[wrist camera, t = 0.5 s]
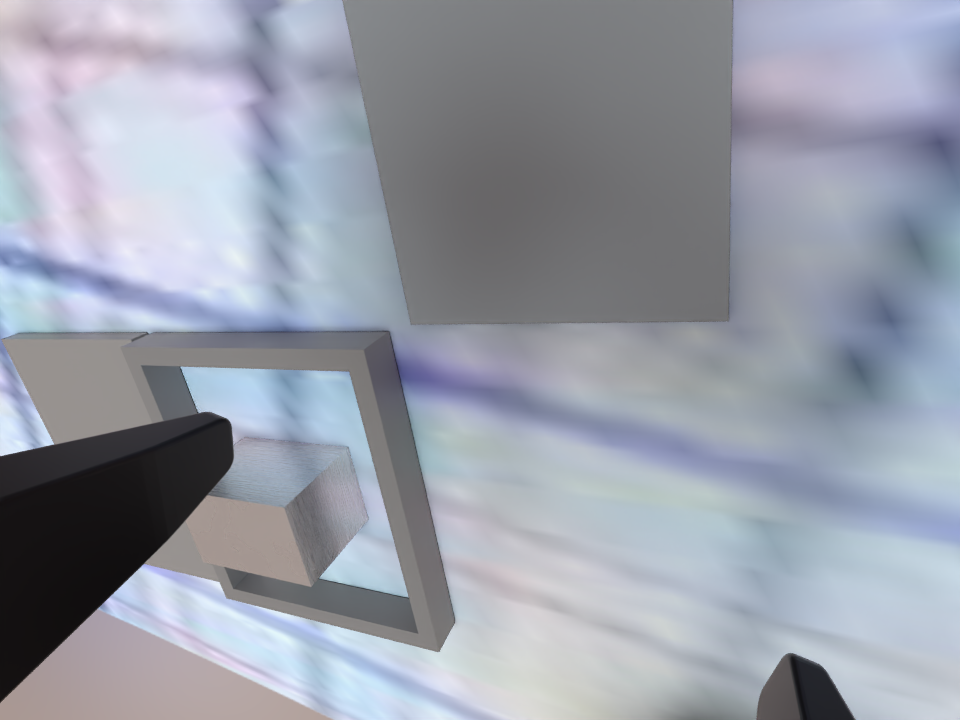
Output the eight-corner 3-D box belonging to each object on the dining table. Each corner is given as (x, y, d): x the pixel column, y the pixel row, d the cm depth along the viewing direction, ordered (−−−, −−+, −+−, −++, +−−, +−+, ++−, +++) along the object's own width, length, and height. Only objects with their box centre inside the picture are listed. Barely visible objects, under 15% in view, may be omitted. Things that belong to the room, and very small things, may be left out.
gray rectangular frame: (455, 621, 31) (439, 652, 30) (123, 546, 42) (98, 565, 41) (388, 331, 25) (363, 349, 23) (18, 333, 36) (-17, 345, 34)
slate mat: (728, 315, 19) (728, 321, 19) (416, 320, 24) (411, 324, 24) (734, -129, 15) (734, -135, 14) (348, -12, 19) (339, -14, 19)
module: (369, 518, 31) (311, 587, 26) (270, 502, 33) (203, 562, 29) (349, 446, 29) (283, 507, 25) (246, 435, 32) (171, 489, 28)
